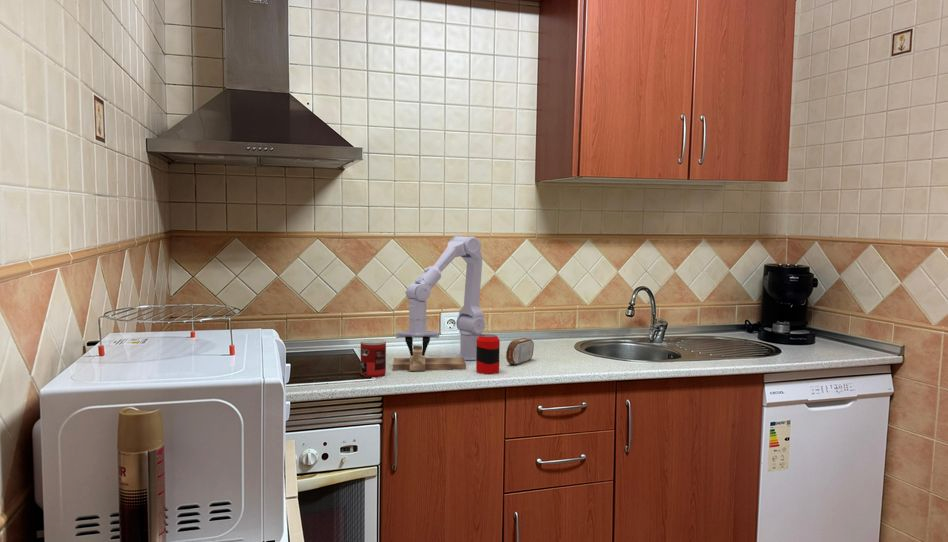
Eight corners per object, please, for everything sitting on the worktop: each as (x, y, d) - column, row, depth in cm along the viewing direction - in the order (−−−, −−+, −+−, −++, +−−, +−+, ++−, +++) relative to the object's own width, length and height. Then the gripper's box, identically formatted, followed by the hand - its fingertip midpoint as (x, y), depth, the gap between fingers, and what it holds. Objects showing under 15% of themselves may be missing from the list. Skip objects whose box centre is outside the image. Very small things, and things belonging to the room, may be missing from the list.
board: (463, 363, 224) (463, 357, 223) (465, 369, 214) (465, 363, 213) (393, 363, 221) (393, 358, 221) (392, 370, 211) (392, 364, 211)
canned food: (361, 372, 208) (361, 338, 208) (386, 372, 209) (386, 338, 208) (359, 378, 201) (359, 343, 200) (385, 377, 201) (385, 343, 201)
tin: (527, 358, 232) (528, 335, 232) (535, 360, 231) (535, 336, 230) (505, 366, 220) (505, 341, 219) (512, 367, 218) (513, 342, 218)
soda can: (480, 368, 216) (480, 332, 215) (501, 370, 214) (502, 334, 213) (473, 373, 209) (473, 336, 208) (495, 375, 206) (496, 338, 206)
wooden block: (424, 362, 222) (424, 345, 221) (425, 370, 210) (425, 351, 210) (410, 363, 221) (410, 345, 221) (409, 370, 210) (409, 351, 210)
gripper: (395, 320, 211) (395, 361, 212) (439, 320, 213) (439, 361, 214) (396, 317, 218) (396, 357, 219) (439, 317, 220) (438, 356, 221)
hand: (417, 358), depth 217 cm, fingers closed on wooden block, 3 cm apart
